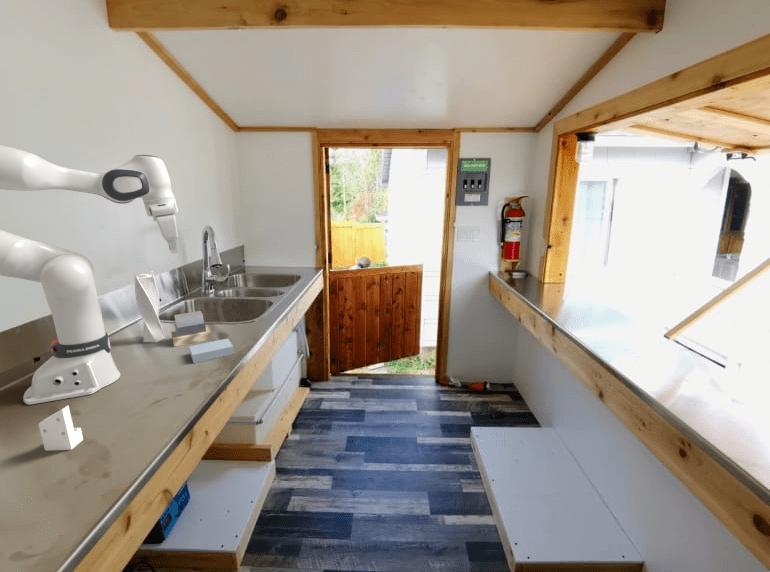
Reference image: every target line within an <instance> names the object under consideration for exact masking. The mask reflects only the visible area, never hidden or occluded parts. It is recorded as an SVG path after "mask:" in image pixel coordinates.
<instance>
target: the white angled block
mask: <svg viewBox="0 0 770 572" xmlns="http://www.w3.org/2000/svg"><path fill="white" fill-rule="evenodd" d="M37 424H38V429H39V433H40V436H41V440H42V443H43V448H44V451H69V450H70V451H71V450H73V449H74V448H75V447H76V446H78V445H79V444H80V443H81V442H83V441H84V437H83V432H82V427H74V423H73V418H72V415H71V410H70V406H69V405H66V406H65V407H63V408H61V409H60V410H57V411H56V412H55V413H53V414H51V415H49V416H48V417H46V418H45V419H43V420H42V421H40V422H39V423H37Z"/></svg>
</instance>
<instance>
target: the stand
mask: <svg viewBox="0 0 770 572" xmlns="http://www.w3.org/2000/svg"><path fill="white" fill-rule="evenodd" d="M188 348H189V350H188V351H189V355H190V357H191V360H192V362H193V364H198V363H201V362H206V360H207V361H211V360H215V359H220V358H224V357H227V356H228V355H229V356H233V355H235V347H234V345H233V343H232V342H231V341H230V339H229V338H224V339H218V340H214V341H209V342H204V343H199V344H195V345H190V346H188ZM232 354H233V355H232ZM223 356H224V357H223ZM219 357H220V358H219ZM214 358H215V359H214ZM210 359H211V360H210Z"/></svg>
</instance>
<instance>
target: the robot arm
mask: <svg viewBox="0 0 770 572" xmlns="http://www.w3.org/2000/svg"><path fill="white" fill-rule="evenodd" d="M0 190H5V191H20V192H21V191H23V192H26V191H27V192H29V191H30V192H31V191H45V190H47V191H48V190H65V191H71V192H77V193H87V194H93V195H98V196H100V197H103V198H105V199H106V200H108V201H111V202H112V203H116V204H123V205H124V204H129V203H132V202H133V201H135V200H136V199H137V198H138V199H139V198H140V199H142V201H143V205H144V209H145V211H146V215H147V216H148V217H152V219H153V220H152V221H154V222H157V225H158V228H159V230H160V233H161V236H162V237H163V239H164V241H166V243H167V245H168V248H169V250H170V253H172V254H177V253H179V249H178V246H177V241H176V240H177V239H178V238H179V233H178V227H177V225H178V224H177V217H176V214H177V213H179V212H180V211H179V208H178V204H177V203H178V202H177V201H176V197H175V195H174V193H173V190H172V181H171V178H170V174H169V171H168V169H167V166H166V164H165V162H164V160H163V159H161V158H159V157H158V156H154V155H152V154H151V155H149V154H137V155H134V156H133V157H132V158H131V159H130V160H128V161H127V162H125V163H124V164H122V165H119V166H118V167H115V168H113V169H110V170H108V171H106V172H102V173H100V172H99V173H98V172H91V171H86V170H80V169H73V168H68V167H65V166H61V165H58V164H55V163H53V162H50V161H48V160H46V159H44V158H42V157H41V156H39V155H36V154H34V153H31V152H29V151H25V150H22V149H20V148H15V147H12V146H6V145H3V144H0ZM94 270H95V269H94V266H93V263H92V261H90V259H89V258H88V257H87V256H85V255H84V254H81V253H78V252H75V251H72V250H68V249H65V248H62V247H60V246H59V247H58V246H55V245H53V244H48V243H45V242H40V241H37V240H33V239H29V238H26V237H23V236H21V235H17V234H14V233H11V232H8V231H6V230H3V229H0V276H2V277H7V278H14V279H15V278H16V279H20V280H26V281H33V282H37V283H41V286H42V290H43V293H44V296H45V299H46V302H47V305H48V307H49V311H50V313H51V317H52V320H53V324H54V328H55V333H56V336H57V339H54V340H52V341H51V342H50V352H51V355H52V356H51V357H50V358H48V359H47V360H46V361H45V362H44V363H43V364H41V366H39V367H38V368H37V369H36V370H35V372H34V373H33V376H32V379H31V385H30V386H29V387H28V388H27V389H26V391H24V394H23V396H22V397H23V398H22V399H23V402H24V404H25V405H28V406H29V405H35V404H42V403H47V402H48V403H49V402H53V401H59V400H65V399H66V400H67V399H69V398H78V397H83V396H88V395H92V394H94V393H96V392H97V391H99V390H101V389H102V388H105V387H107V386H109V385H111V384H113V383H114V382H116V381H117V380H119V378H120V377H121V376H122V375H121V371H119V369H118V368H117V366H116V363H115V361H114V358H113V356H112V353H111V350H112V349H111V348H112V347H111V341H110V337H109V335H108V332H106V329H105V323H104V319H103V318H104V317H103V315H102V314H103V313H102V309H101V306H100V301H99V297H98V292H97V288H96V283H95V279H94V278H95V277H94V275H95V274H94Z"/></svg>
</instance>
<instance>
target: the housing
mask: <svg viewBox="0 0 770 572" xmlns="http://www.w3.org/2000/svg"><path fill="white" fill-rule="evenodd" d="M174 321H175V322H174V331H176V335H177V337H181V336H186V335H191V334H197V333H202V332H206V326H207V325H206V322H205V319H204V314H203V312H202V311H201V310H197V311H196V310H195V311H192V312H185V313H179V314H178V313H177V314H174Z"/></svg>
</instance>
